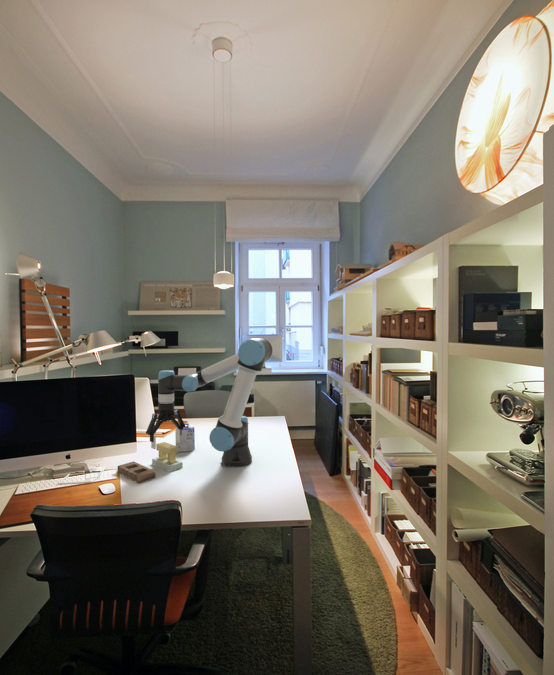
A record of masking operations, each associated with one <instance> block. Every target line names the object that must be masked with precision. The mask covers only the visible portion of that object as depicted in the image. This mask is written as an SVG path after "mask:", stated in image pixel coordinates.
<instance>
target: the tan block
mask: <svg viewBox="0 0 554 675" xmlns="http://www.w3.org/2000/svg"><path fill="white" fill-rule="evenodd" d="M155 450H156V451H158V457H159V461H162V460H166V459H167V463H168V464H169V465H170V464H174V463H176V460H177V459H176V457H177V456H176V454H178V453H179V452H178V447H177V446H176V445H174V444H172V443H171V444H170V443H168V442H166V441H164V442H163V441H162V442H160V443H156V449H155Z"/></svg>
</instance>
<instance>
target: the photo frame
mask: <svg viewBox="0 0 554 675" xmlns="http://www.w3.org/2000/svg"><path fill="white" fill-rule="evenodd" d="M88 468H89V470H90V473H93V472H92V471H101V472H98V474H97V475H96V477H94V478H93V479H92V480H82V481H65V480H66V479H67V478H69V475H70V474H69V473H68V474H67V475H65V476H64V477H63V478H62V479H61V480H60V481H58V482H57V485H71V484H86V483H87V484H88V483H94V482H95V481H96V480H97V479H98V478H99V477H100V476H101V475H102V474H103V473H104V472H105V471H106V470H107V469H108V466H96V467H88ZM104 470H105V471H104ZM103 471H104V472H103ZM102 472H103V473H102ZM101 473H102V474H101ZM100 474H101V475H100ZM99 475H100V476H99ZM70 476H71V475H70ZM98 476H99V477H98ZM97 477H98V478H97ZM96 478H97V479H96ZM62 481H63V482H62Z"/></svg>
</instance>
